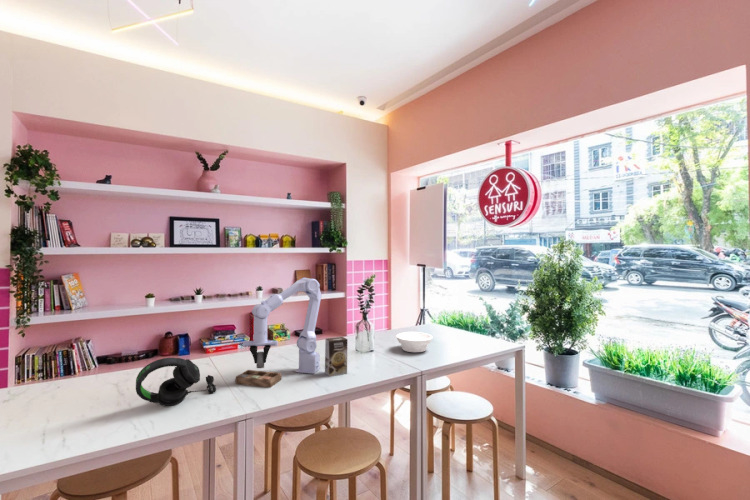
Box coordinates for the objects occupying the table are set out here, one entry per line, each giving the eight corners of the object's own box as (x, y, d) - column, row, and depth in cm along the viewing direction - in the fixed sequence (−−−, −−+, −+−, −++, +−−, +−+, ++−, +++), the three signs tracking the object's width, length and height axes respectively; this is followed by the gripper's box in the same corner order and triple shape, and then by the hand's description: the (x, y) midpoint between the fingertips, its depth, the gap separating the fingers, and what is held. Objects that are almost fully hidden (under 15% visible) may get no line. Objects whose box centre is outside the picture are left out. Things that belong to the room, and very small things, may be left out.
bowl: (388, 349, 201) (388, 335, 201) (412, 343, 215) (412, 330, 215) (416, 358, 186) (416, 342, 186) (439, 350, 200) (439, 336, 200)
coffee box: (329, 376, 157) (329, 341, 157) (324, 372, 163) (324, 338, 163) (347, 373, 161) (347, 339, 161) (342, 369, 167) (342, 336, 167)
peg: (264, 365, 154) (264, 351, 154) (263, 368, 151) (263, 353, 151) (257, 366, 153) (257, 351, 153) (255, 368, 150) (255, 353, 150)
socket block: (281, 379, 153) (281, 372, 153) (270, 387, 144) (270, 379, 144) (247, 376, 157) (248, 369, 157) (235, 383, 148) (235, 376, 148)
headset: (202, 418, 136) (123, 403, 117) (199, 392, 146) (126, 375, 128) (230, 383, 135) (155, 363, 117) (226, 360, 146) (156, 338, 127)
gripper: (278, 329, 157) (278, 359, 157) (245, 330, 155) (245, 360, 155) (276, 332, 150) (276, 364, 150) (241, 333, 148) (241, 365, 148)
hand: (260, 362), depth 152 cm, fingers closed on peg, 3 cm apart
